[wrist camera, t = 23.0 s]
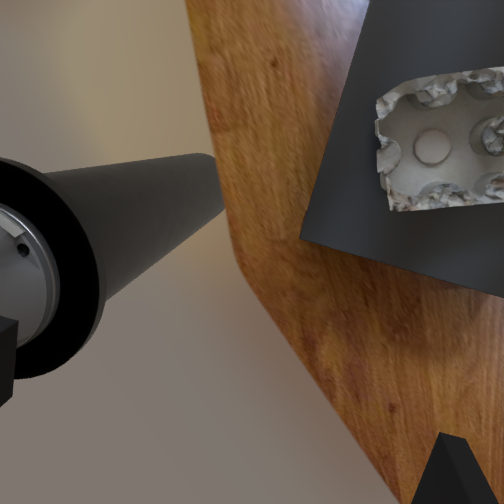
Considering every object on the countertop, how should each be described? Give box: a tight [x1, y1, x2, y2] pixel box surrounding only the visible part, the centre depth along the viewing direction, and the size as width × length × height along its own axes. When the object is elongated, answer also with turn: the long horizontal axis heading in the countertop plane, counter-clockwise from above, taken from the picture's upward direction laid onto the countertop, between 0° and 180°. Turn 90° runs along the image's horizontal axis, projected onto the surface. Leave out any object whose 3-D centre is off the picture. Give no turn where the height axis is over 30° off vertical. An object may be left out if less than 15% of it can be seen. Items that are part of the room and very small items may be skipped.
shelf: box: [299, 0, 504, 298], centre depth 31 cm, size 16×18×6 cm
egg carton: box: [375, 67, 504, 211], centre depth 27 cm, size 11×8×4 cm
